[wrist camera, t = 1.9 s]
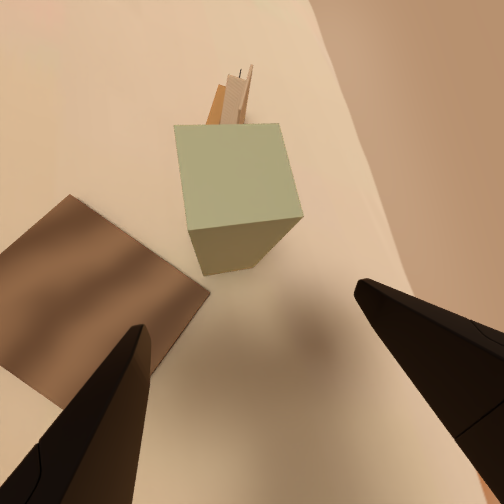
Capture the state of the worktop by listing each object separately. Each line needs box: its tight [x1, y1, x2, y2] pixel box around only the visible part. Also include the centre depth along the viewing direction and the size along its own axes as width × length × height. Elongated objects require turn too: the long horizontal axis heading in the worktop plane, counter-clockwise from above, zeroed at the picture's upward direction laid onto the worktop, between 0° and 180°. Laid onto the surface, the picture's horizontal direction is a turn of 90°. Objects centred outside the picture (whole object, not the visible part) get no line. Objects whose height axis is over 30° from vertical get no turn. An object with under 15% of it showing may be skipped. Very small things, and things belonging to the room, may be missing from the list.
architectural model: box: [206, 65, 253, 125], centre depth 22 cm, size 3×7×7 cm, turn 169°
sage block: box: [174, 123, 304, 276], centre depth 16 cm, size 5×5×13 cm
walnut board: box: [0, 194, 210, 410], centre depth 18 cm, size 16×13×1 cm
